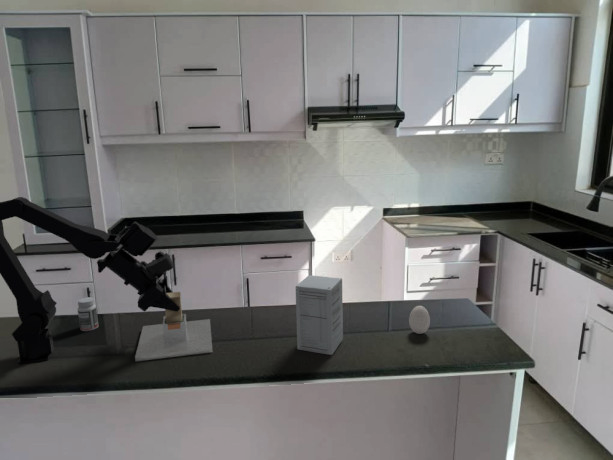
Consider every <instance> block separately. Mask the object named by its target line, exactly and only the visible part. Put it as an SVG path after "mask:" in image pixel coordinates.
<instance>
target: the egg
mask: <svg viewBox="0 0 613 460" xmlns="http://www.w3.org/2000/svg"><path fill="white" fill-rule="evenodd" d="M408 320H409V321H408V324H409V327H410V329H411V330H412V331H413V332H414V334H415V333H416V334H418V335H421V334H425V332H427V331H428V329H429V327H430V324H431V317H430V313H429V312H428V310H427V308H425V307H424V306H422V305H417V306H414V307H413V309H412V310H411V312H410V314H409V317H408Z"/></svg>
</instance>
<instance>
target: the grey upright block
mask: <svg viewBox="0 0 613 460" xmlns="http://www.w3.org/2000/svg"><path fill="white" fill-rule="evenodd" d="M295 306H296V307H295V312H296V313H295V315H296V347H297V350H300V351H304V352H305V351H306V352H310V353H319V354H322V355H323V354H324V355H330V356H332V355H333V354H334V352H335V351H337V348H338V347H339V345H340V344H341V343H342V341H344V331H343V330H344V329H343V325H344V324H343V323H344V322H343V316H344V315H343V310H344V309H343V278H339V277H329V276H323V275H311V274H309V275H308V276H306V277H305V278H303V280H301V281H300V282H299V283H297V285H296V286H295Z"/></svg>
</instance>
